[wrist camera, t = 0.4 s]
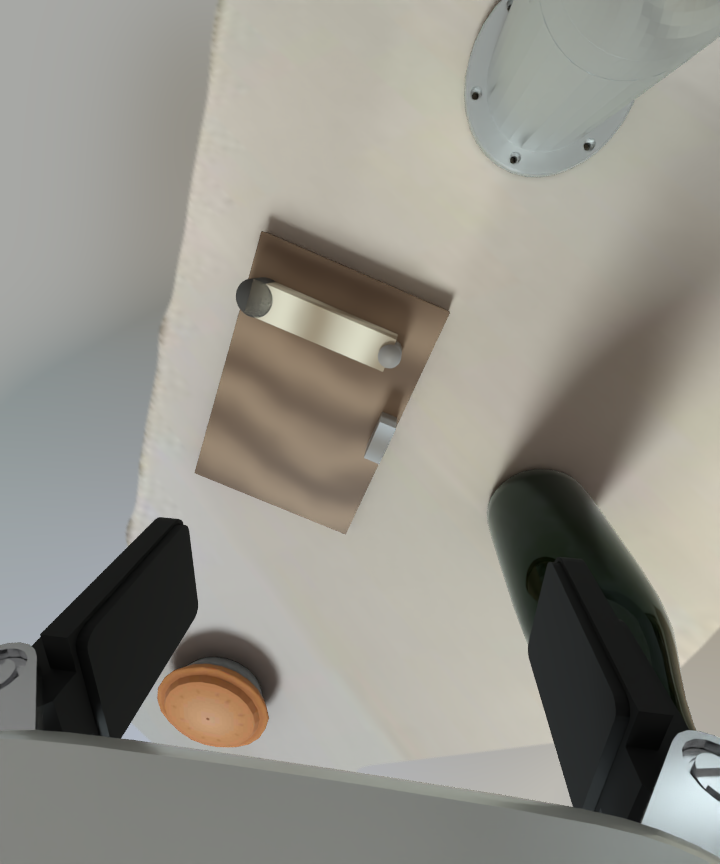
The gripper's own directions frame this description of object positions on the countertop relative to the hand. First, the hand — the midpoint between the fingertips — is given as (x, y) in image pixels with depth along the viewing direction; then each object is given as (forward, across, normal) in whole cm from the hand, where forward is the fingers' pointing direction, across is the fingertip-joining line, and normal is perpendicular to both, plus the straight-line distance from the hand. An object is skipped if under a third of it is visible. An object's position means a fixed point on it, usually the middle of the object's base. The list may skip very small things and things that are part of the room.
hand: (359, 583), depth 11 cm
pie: (+34, +22, +50) cm, 64 cm away
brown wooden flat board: (+33, +8, +5) cm, 35 cm away
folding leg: (+31, +7, -2) cm, 32 cm away
